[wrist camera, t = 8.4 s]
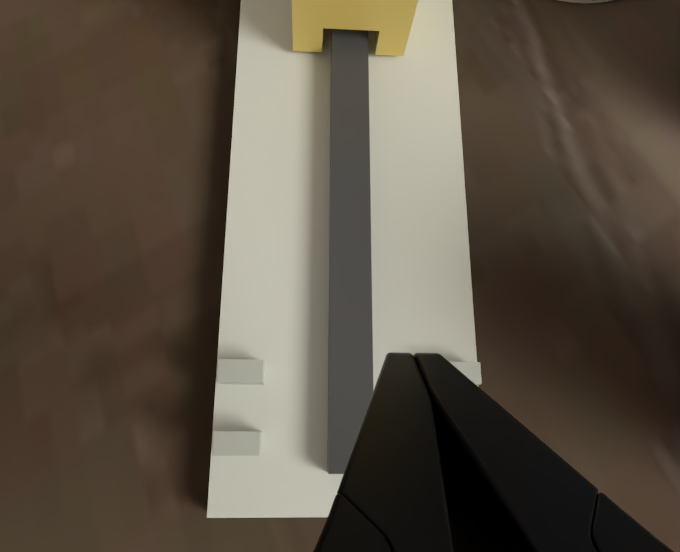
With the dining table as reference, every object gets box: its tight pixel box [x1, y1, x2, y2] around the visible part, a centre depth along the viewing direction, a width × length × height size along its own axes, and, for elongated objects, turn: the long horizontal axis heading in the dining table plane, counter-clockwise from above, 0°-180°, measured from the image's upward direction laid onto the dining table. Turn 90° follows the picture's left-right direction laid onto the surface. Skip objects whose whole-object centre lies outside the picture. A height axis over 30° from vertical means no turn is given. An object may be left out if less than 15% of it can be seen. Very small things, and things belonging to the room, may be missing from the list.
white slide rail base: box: [207, 0, 482, 518], centre depth 22 cm, size 30×10×6 cm, turn 0°
